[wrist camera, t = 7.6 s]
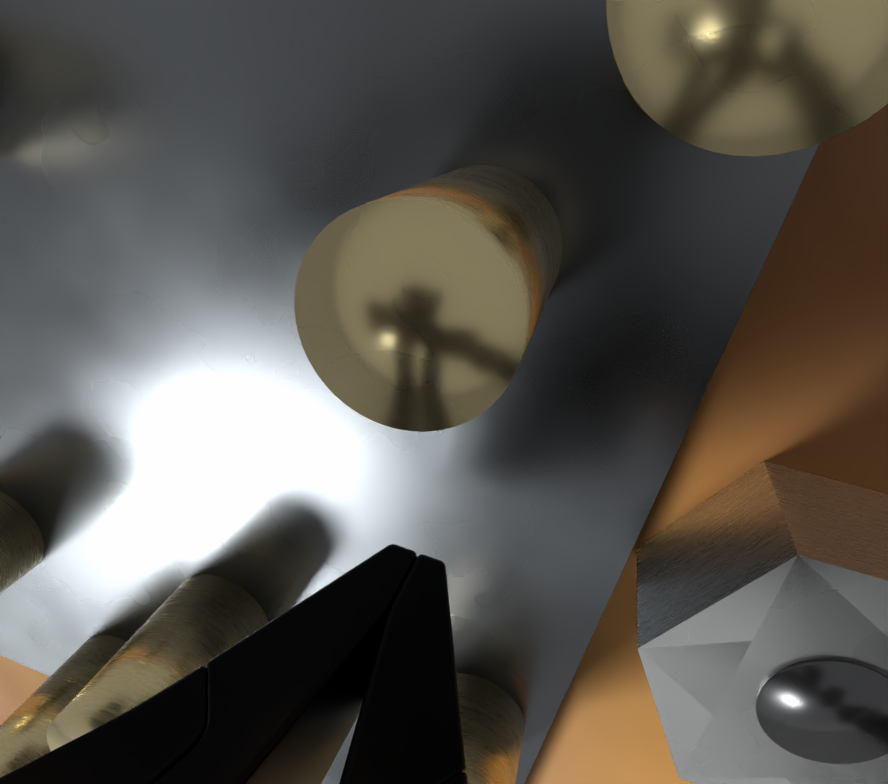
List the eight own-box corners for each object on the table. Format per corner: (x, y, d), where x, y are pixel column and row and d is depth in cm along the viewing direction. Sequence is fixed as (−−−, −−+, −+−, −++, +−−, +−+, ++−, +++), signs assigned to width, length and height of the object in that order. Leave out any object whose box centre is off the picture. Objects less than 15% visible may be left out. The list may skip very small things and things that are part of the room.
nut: (1037, 529, 9) (1164, 662, 7) (891, 726, 11) (954, 879, 9) (677, 434, 10) (690, 526, 8) (601, 634, 12) (595, 752, 10)
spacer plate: (908, -82, 7) (1205, -282, 3) (491, 837, 15) (448, 1063, 11) (-156, -285, 9) (-687, -545, 5) (-8, 626, 17) (-175, 762, 13)
